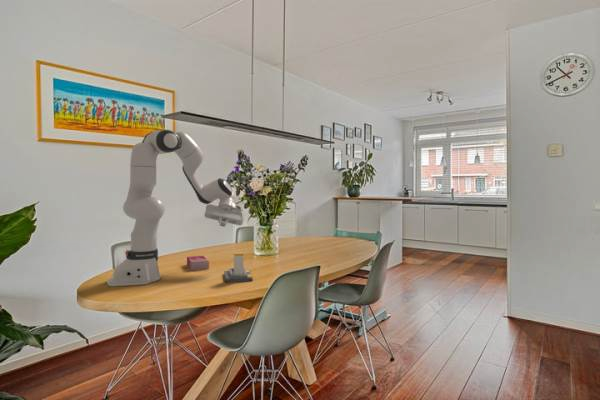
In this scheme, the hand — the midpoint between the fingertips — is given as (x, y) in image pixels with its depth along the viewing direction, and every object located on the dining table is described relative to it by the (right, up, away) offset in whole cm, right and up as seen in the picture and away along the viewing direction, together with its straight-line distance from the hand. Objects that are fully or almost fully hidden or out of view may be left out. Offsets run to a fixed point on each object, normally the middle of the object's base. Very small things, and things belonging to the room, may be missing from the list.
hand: (222, 225), depth 181 cm
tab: (+11, -23, -14) cm, 29 cm away
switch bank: (+10, -24, -10) cm, 28 cm away
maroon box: (-17, -24, +13) cm, 32 cm away
